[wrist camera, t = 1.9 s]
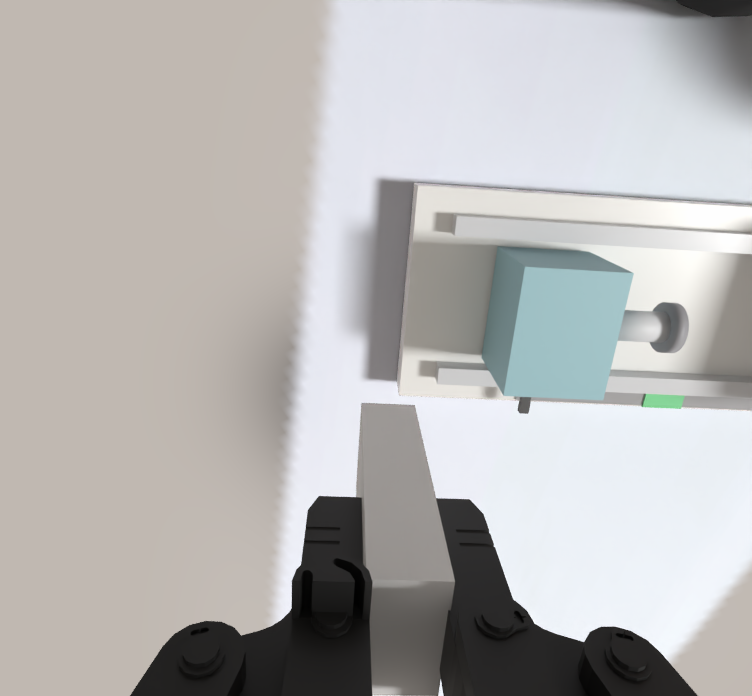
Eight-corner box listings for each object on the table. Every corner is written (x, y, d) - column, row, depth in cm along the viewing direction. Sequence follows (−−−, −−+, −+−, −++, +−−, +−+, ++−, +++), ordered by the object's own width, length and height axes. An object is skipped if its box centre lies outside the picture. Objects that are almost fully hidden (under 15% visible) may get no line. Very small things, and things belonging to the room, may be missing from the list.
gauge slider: (497, 246, 29) (525, 266, 24) (661, 256, 29) (719, 277, 25) (475, 399, 32) (495, 443, 27) (622, 405, 33) (667, 450, 28)
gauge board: (414, 182, 30) (441, 202, 20) (911, 215, 31) (1146, 248, 22) (396, 381, 34) (412, 473, 25) (834, 401, 36) (1005, 494, 26)
